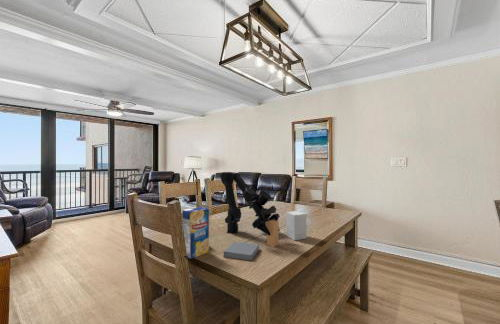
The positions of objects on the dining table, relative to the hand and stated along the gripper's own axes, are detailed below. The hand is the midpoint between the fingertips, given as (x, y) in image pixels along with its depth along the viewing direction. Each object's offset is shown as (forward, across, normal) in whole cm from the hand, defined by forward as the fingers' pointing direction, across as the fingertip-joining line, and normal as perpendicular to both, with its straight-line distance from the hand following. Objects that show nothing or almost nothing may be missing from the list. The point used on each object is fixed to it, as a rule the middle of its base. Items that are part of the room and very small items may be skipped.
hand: (274, 233), depth 126 cm
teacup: (-8, +15, +18) cm, 24 cm away
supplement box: (+6, +20, +4) cm, 21 cm away
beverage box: (-10, -36, +20) cm, 43 cm away
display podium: (+1, -20, +9) cm, 21 cm away
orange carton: (+4, 0, +6) cm, 7 cm away
